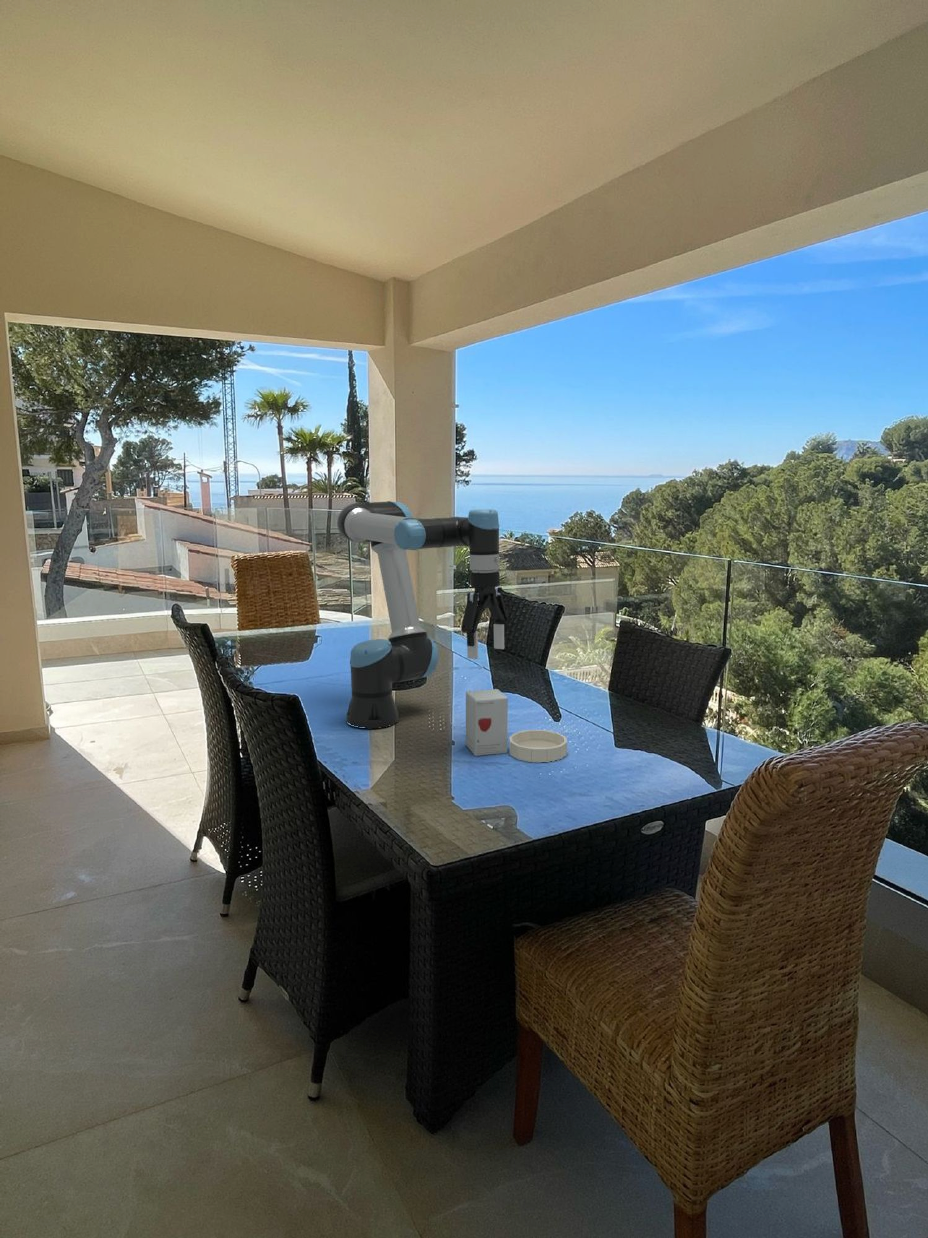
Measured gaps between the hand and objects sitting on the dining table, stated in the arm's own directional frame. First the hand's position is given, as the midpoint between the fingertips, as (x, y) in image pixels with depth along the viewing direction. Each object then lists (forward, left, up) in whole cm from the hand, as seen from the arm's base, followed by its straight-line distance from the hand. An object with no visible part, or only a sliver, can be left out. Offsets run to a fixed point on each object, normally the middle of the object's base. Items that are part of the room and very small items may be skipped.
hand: (486, 653), depth 198 cm
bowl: (+13, +4, -25) cm, 29 cm away
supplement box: (+1, -1, -26) cm, 26 cm away
